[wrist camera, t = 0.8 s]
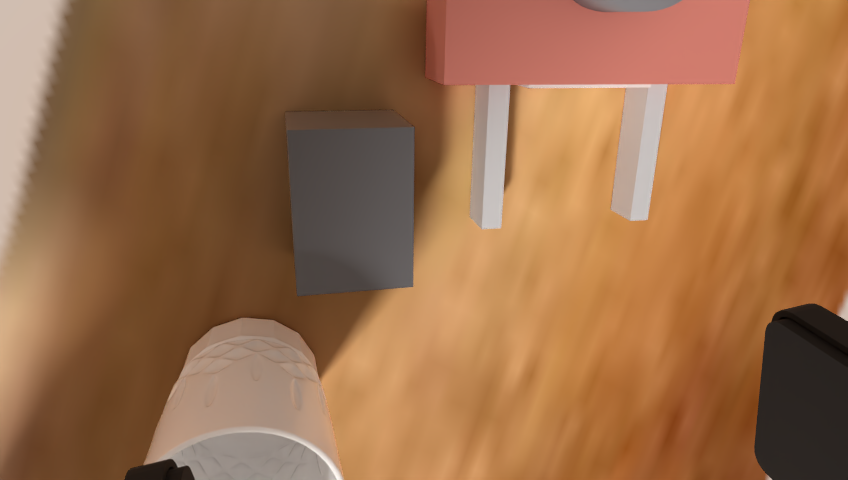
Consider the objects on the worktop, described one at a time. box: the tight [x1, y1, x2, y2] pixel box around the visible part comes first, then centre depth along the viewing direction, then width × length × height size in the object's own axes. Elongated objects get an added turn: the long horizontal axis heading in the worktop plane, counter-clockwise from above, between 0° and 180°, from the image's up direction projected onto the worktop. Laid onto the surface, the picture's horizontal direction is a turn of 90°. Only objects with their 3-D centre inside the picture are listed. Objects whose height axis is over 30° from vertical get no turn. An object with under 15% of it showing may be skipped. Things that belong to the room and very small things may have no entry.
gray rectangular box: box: [285, 110, 415, 296], centre depth 28 cm, size 7×5×5 cm
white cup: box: [143, 318, 344, 480], centre depth 28 cm, size 8×8×10 cm
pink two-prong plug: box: [425, 0, 750, 229], centre depth 27 cm, size 17×14×6 cm
